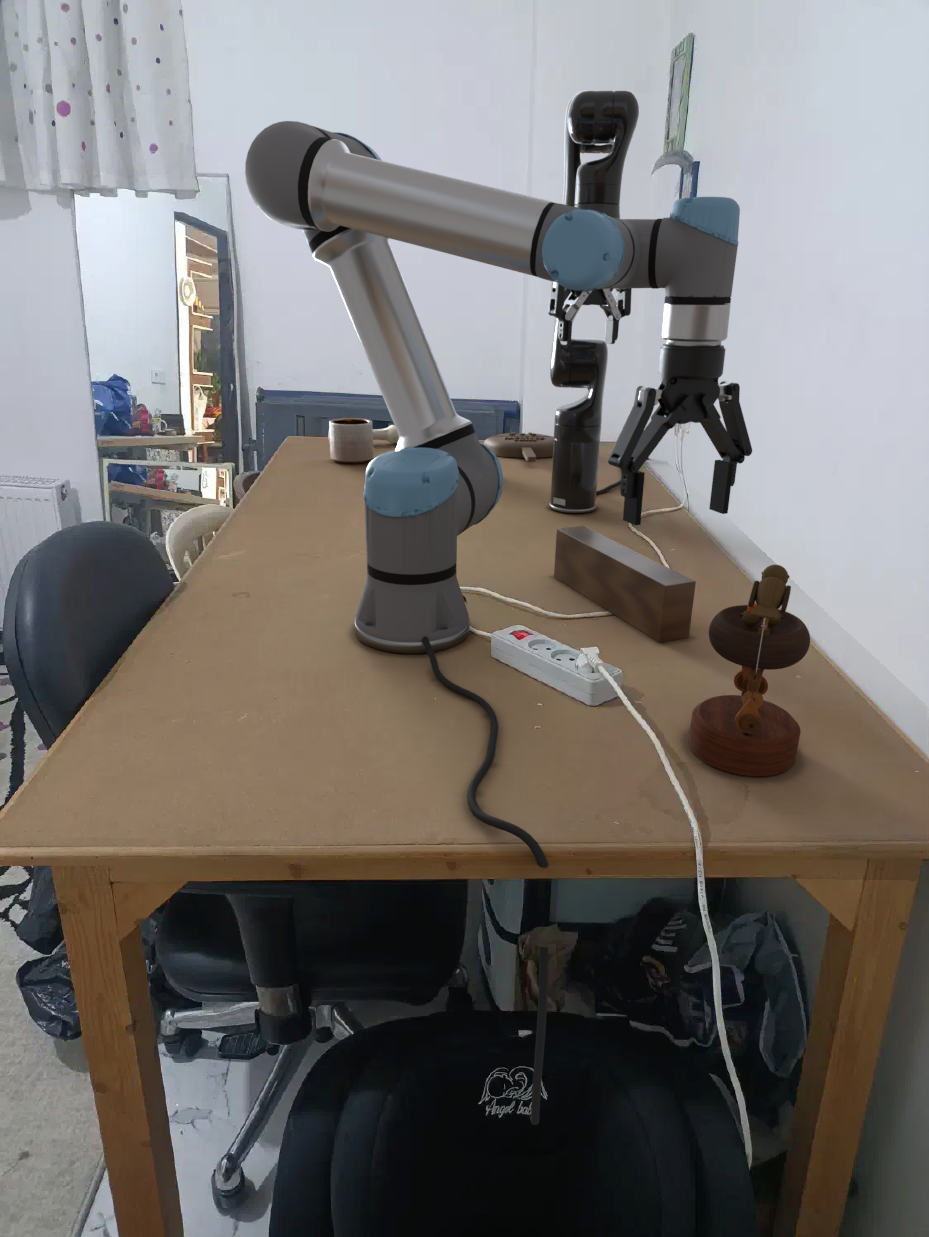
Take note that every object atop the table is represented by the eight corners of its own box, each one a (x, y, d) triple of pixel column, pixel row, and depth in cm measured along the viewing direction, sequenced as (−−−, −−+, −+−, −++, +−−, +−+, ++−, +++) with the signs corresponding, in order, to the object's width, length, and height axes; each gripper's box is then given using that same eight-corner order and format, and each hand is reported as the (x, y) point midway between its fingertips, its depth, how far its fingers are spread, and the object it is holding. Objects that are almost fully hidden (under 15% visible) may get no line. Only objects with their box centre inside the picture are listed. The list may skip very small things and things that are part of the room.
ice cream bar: (489, 467, 208) (489, 450, 207) (482, 445, 234) (482, 430, 233) (574, 467, 209) (575, 450, 208) (557, 446, 235) (558, 430, 234)
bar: (689, 637, 113) (696, 581, 110) (659, 643, 111) (665, 585, 108) (579, 573, 136) (583, 525, 133) (553, 577, 134) (556, 528, 131)
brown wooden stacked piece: (818, 789, 79) (839, 589, 72) (698, 789, 81) (706, 593, 73) (780, 711, 93) (794, 537, 86) (678, 712, 95) (683, 541, 87)
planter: (327, 456, 217) (325, 418, 214) (369, 454, 220) (368, 417, 217) (334, 465, 208) (332, 425, 204) (377, 463, 211) (376, 424, 207)
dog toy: (400, 440, 239) (399, 422, 237) (402, 444, 234) (401, 426, 232) (328, 441, 236) (327, 423, 234) (328, 445, 231) (327, 427, 229)
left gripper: (753, 338, 108) (733, 500, 116) (586, 343, 99) (576, 520, 107) (796, 342, 102) (772, 513, 110) (622, 348, 92) (609, 535, 100)
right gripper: (619, 239, 140) (611, 342, 146) (544, 236, 134) (539, 343, 140) (646, 237, 133) (636, 345, 139) (568, 234, 128) (561, 347, 134)
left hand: (675, 517), depth 108 cm, fingers open, 13 cm apart
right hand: (587, 344), depth 140 cm, fingers open, 8 cm apart
